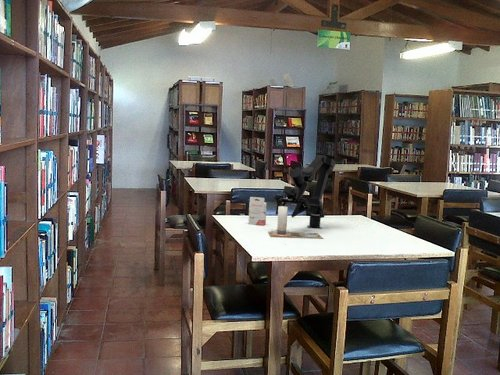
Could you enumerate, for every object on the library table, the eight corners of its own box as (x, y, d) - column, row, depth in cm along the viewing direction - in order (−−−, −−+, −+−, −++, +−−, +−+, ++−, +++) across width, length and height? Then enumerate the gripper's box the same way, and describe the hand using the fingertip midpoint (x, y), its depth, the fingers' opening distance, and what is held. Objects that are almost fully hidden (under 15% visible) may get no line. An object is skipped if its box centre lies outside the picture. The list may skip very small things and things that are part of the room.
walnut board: (267, 233, 251) (267, 231, 250) (317, 234, 253) (317, 233, 253) (270, 238, 238) (270, 237, 238) (323, 240, 240) (323, 238, 240)
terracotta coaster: (270, 232, 249) (271, 231, 249) (289, 233, 249) (289, 232, 249) (273, 236, 240) (273, 235, 240) (292, 236, 241) (292, 236, 241)
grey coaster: (297, 233, 250) (297, 232, 250) (315, 234, 251) (315, 233, 251) (300, 237, 241) (300, 236, 241) (319, 237, 242) (319, 237, 242)
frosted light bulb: (275, 233, 246) (276, 206, 244) (283, 232, 248) (284, 206, 246) (279, 235, 242) (281, 207, 240) (287, 234, 244) (289, 207, 242)
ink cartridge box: (265, 224, 276) (267, 197, 274) (263, 225, 271) (265, 198, 270) (250, 222, 278) (251, 195, 277) (248, 224, 273) (249, 196, 272)
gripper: (276, 178, 253) (261, 202, 245) (308, 182, 241) (293, 207, 234) (285, 192, 260) (271, 216, 252) (316, 197, 248) (302, 222, 241)
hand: (284, 215), depth 245 cm, fingers open, 9 cm apart
